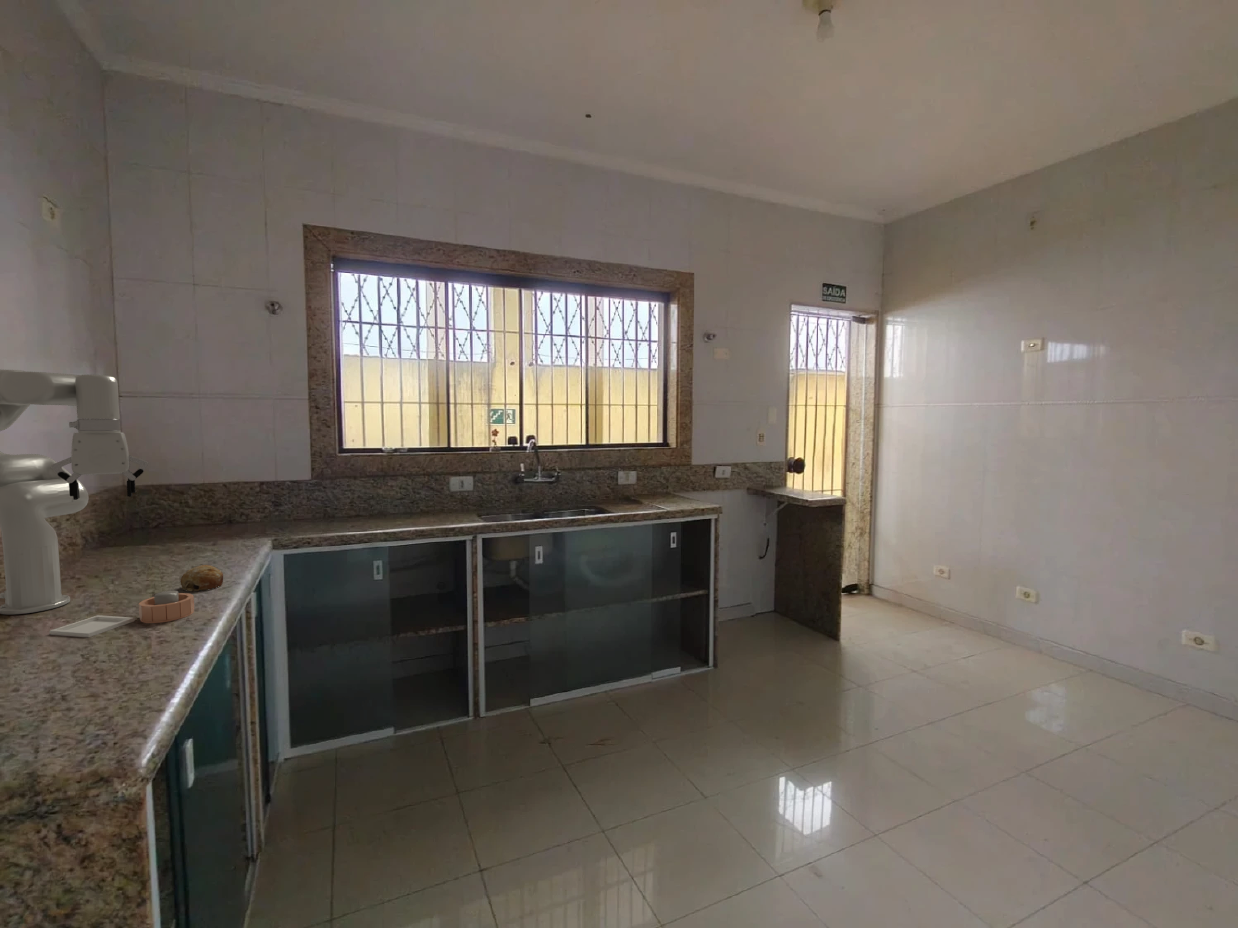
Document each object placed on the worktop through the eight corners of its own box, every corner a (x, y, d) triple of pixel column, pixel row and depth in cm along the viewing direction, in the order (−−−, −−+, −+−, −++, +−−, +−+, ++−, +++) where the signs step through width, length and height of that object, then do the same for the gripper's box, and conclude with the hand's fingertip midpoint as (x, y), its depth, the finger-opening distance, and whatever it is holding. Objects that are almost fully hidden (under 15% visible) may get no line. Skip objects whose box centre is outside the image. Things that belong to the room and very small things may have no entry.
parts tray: (49, 635, 123) (49, 630, 123) (97, 620, 133) (97, 615, 133) (88, 638, 122) (88, 633, 122) (134, 622, 132) (134, 617, 132)
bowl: (128, 623, 132) (127, 605, 131) (168, 609, 141) (167, 592, 141) (166, 625, 130) (165, 607, 130) (204, 611, 140) (203, 594, 140)
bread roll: (177, 603, 157) (170, 581, 153) (192, 579, 165) (185, 557, 161) (219, 601, 159) (212, 579, 156) (231, 577, 168) (225, 555, 164)
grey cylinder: (150, 616, 134) (149, 595, 133) (168, 610, 138) (167, 590, 138) (166, 617, 133) (165, 596, 133) (184, 611, 138) (183, 591, 137)
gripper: (45, 427, 128) (50, 502, 129) (145, 427, 138) (149, 496, 139) (52, 426, 134) (57, 498, 135) (147, 426, 144) (151, 493, 145)
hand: (103, 497), depth 137 cm, fingers open, 9 cm apart
